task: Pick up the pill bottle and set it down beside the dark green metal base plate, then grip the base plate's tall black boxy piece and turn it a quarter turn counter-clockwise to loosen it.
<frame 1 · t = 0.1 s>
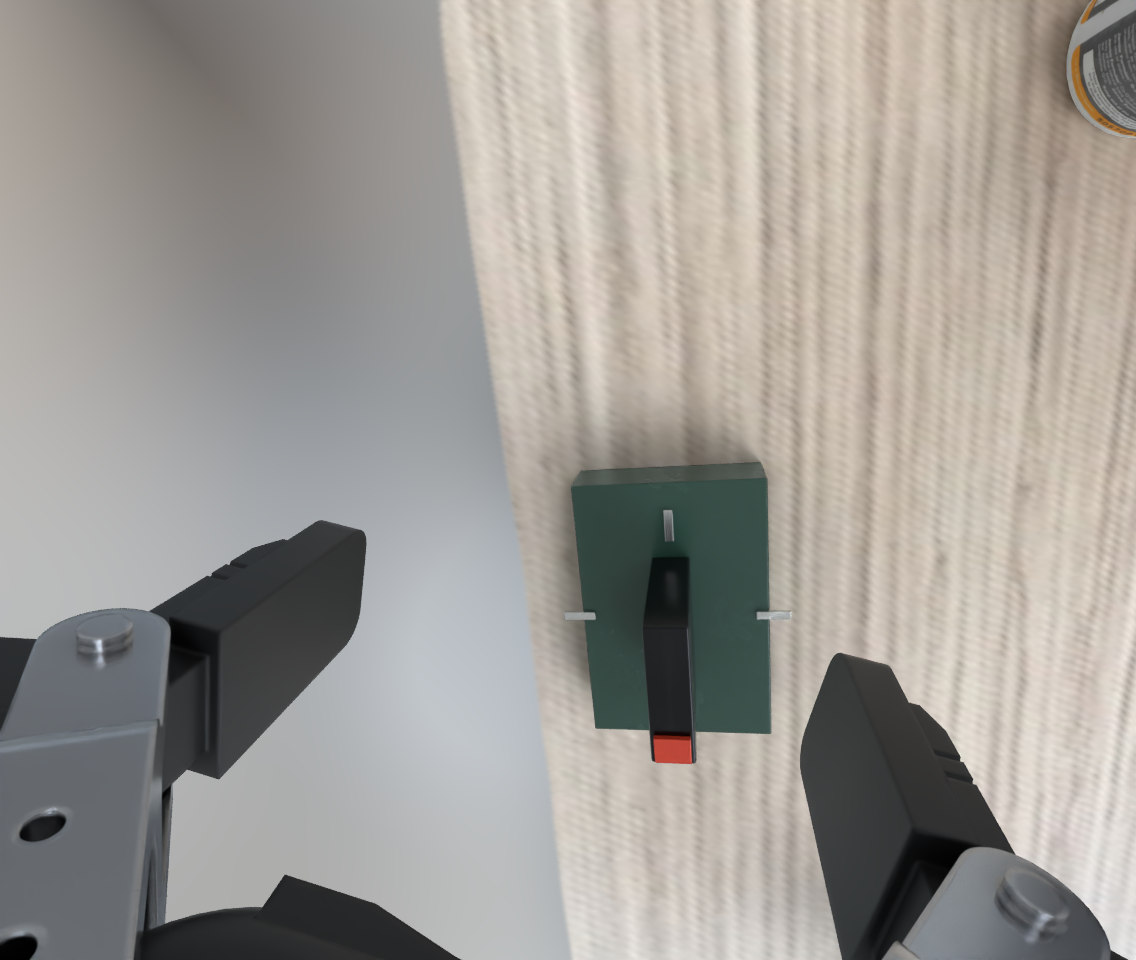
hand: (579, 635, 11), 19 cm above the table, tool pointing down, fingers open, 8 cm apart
base plate: (675, 588, 31), on the table
black boxy piece: (672, 653, 26), point 6 cm above the table, hinge at 0.0°
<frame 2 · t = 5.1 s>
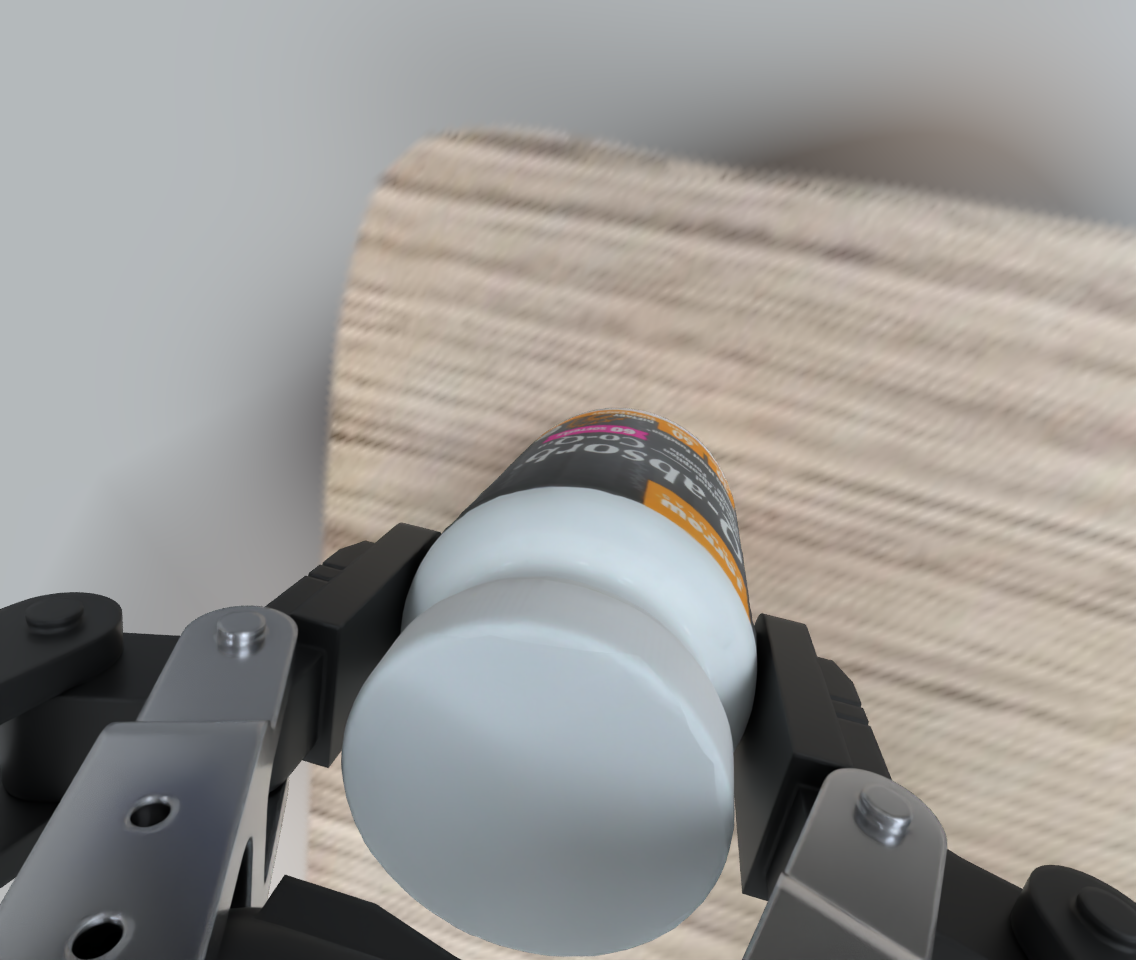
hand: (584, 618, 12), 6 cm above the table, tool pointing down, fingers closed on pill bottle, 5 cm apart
pill bottle: (619, 511, 17), on the table, touching gripper
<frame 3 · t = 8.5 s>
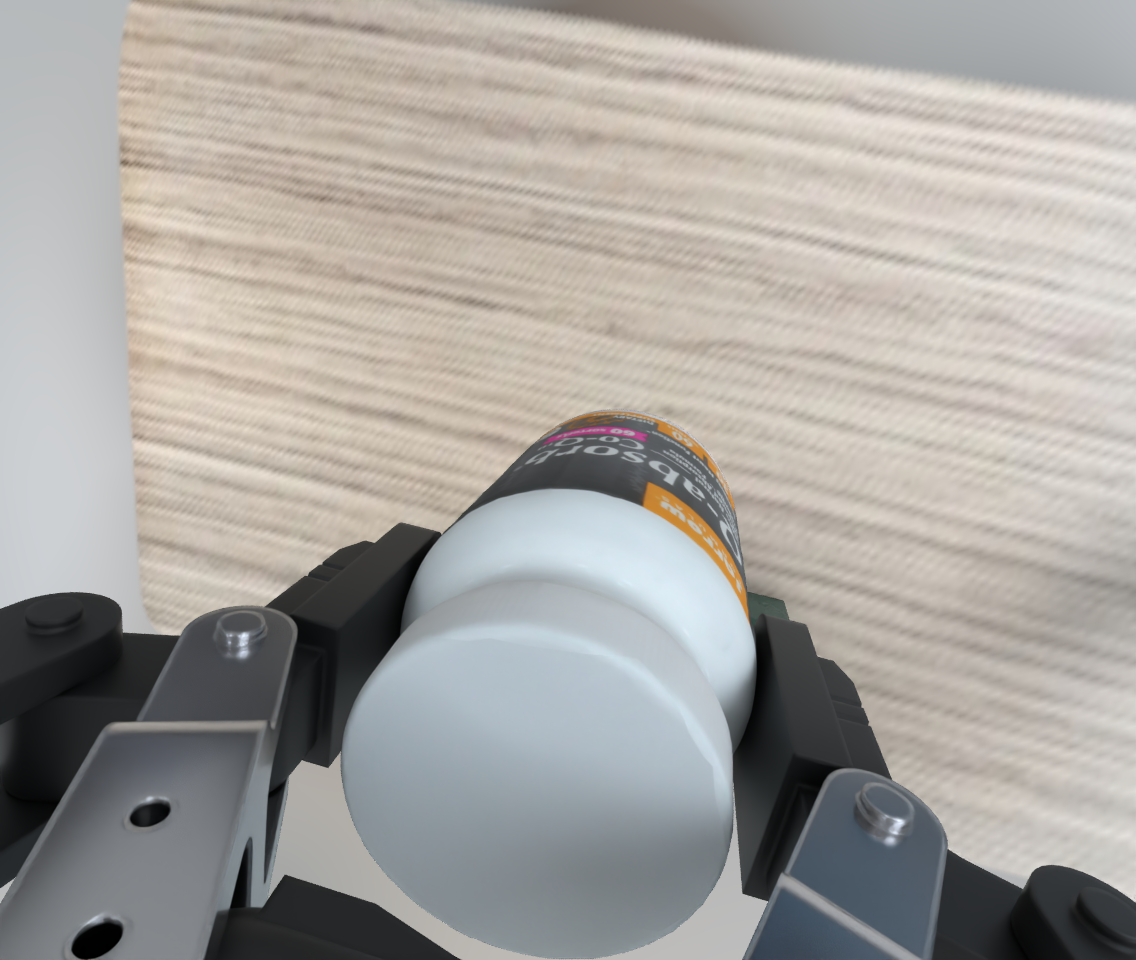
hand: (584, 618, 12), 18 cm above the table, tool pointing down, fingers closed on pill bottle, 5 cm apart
base plate: (638, 641, 32), on the table
pill bottle: (619, 512, 17), point 13 cm above the table, touching gripper
when the fingers open (6 cm above the table, at t = 11.9 s): pill bottle stays where it is, on the table.
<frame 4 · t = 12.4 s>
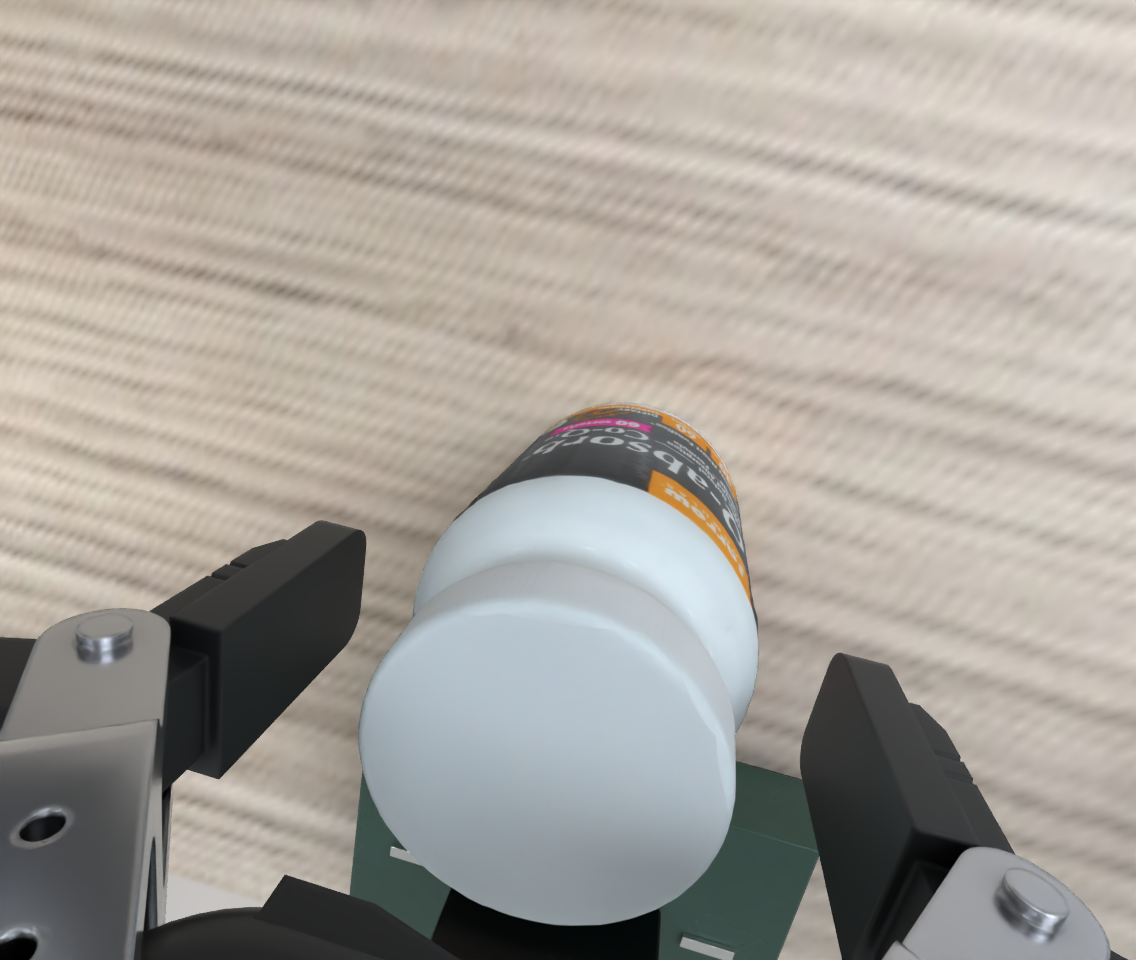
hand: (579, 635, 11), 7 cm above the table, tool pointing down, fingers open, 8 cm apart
base plate: (573, 826, 20), on the table
pill bottle: (624, 504, 17), on the table
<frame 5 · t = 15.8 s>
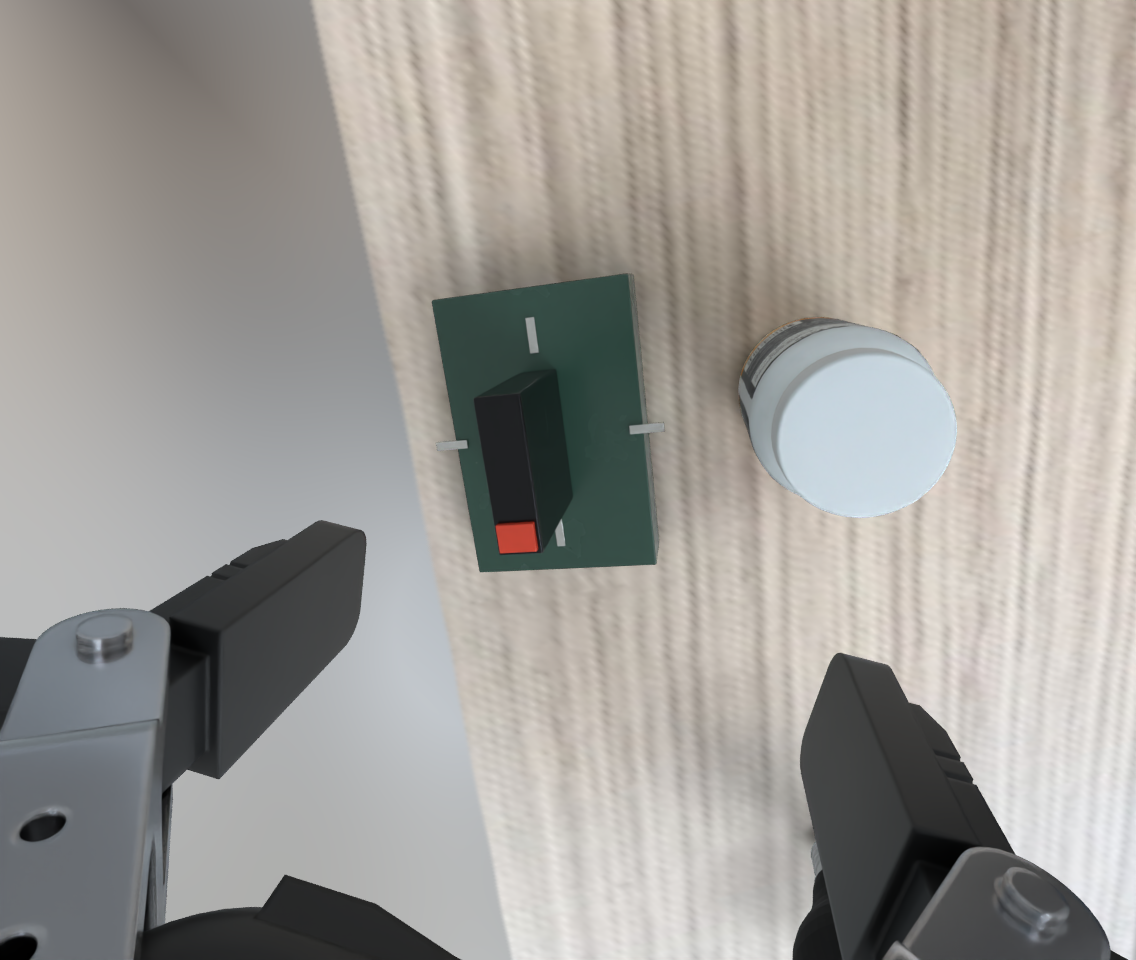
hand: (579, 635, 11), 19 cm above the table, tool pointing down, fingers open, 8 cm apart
base plate: (558, 423, 30), on the table
black boxy piece: (529, 455, 24), point 6 cm above the table, hinge at 0.0°
pill bottle: (806, 384, 27), on the table
light bulb: (832, 836, 34), on the table
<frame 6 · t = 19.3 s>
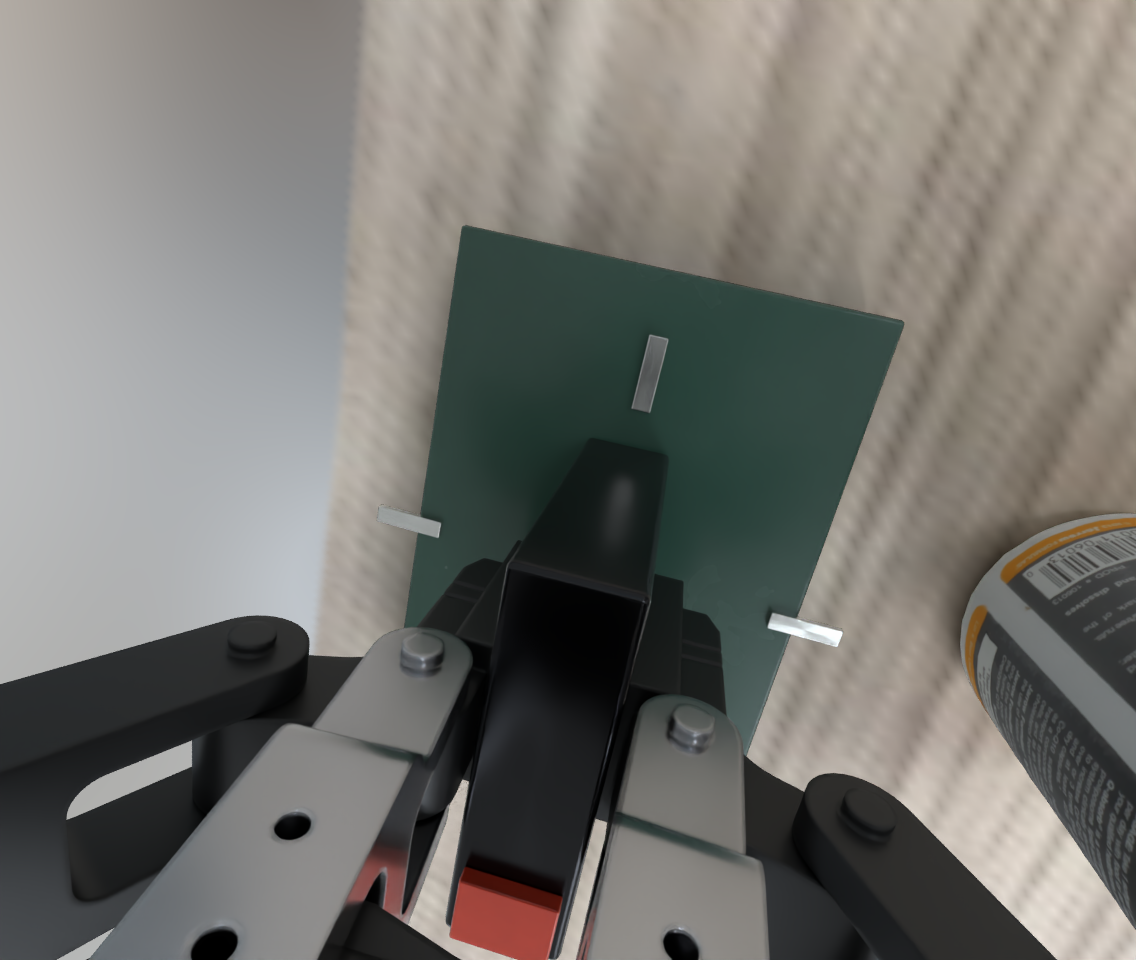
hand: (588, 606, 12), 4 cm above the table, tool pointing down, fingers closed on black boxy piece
base plate: (614, 527, 16), on the table
black boxy piece: (575, 653, 11), point 6 cm above the table, hinge at 1.2°, touching gripper
pill bottle: (1086, 620, 15), on the table
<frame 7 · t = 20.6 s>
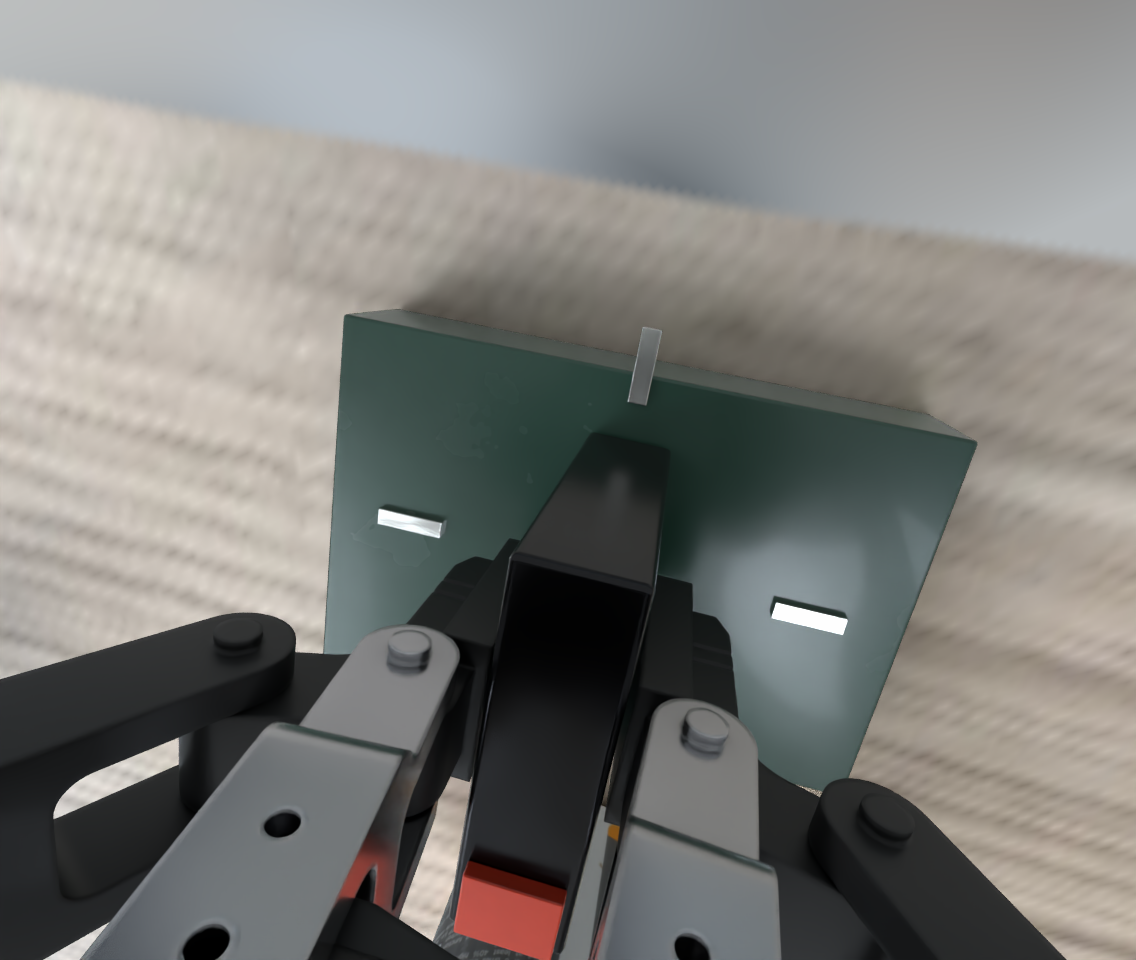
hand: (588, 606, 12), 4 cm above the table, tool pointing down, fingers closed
base plate: (616, 523, 16), on the table
black boxy piece: (577, 648, 10), point 6 cm above the table, hinge at 89.4°
pill bottle: (568, 857, 19), on the table
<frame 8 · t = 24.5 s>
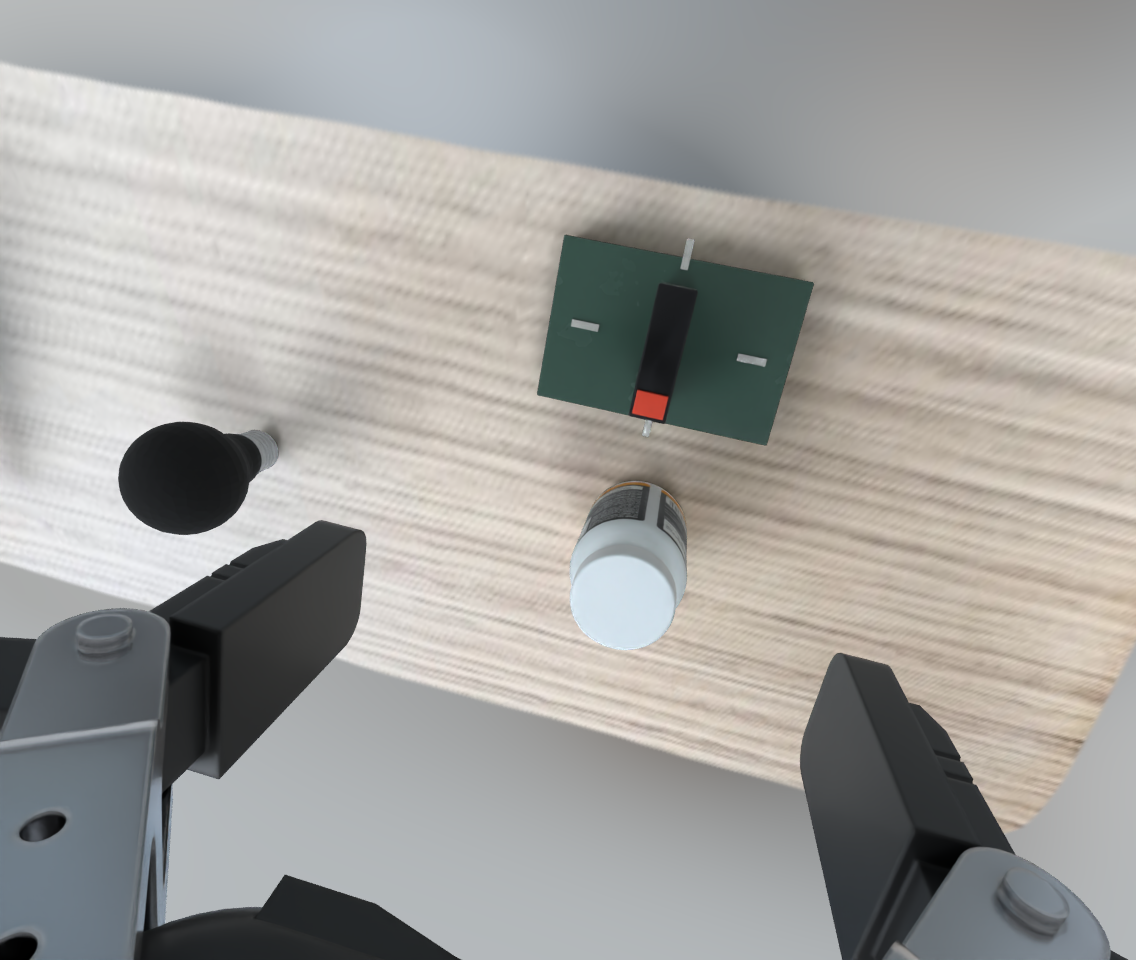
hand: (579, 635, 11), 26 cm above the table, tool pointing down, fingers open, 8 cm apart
base plate: (668, 338, 35), on the table
black boxy piece: (664, 348, 29), point 6 cm above the table, hinge at 89.4°
pill bottle: (637, 523, 38), on the table
light bulb: (270, 445, 41), on the table
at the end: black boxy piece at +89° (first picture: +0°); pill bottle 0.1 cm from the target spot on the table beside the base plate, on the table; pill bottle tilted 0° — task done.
